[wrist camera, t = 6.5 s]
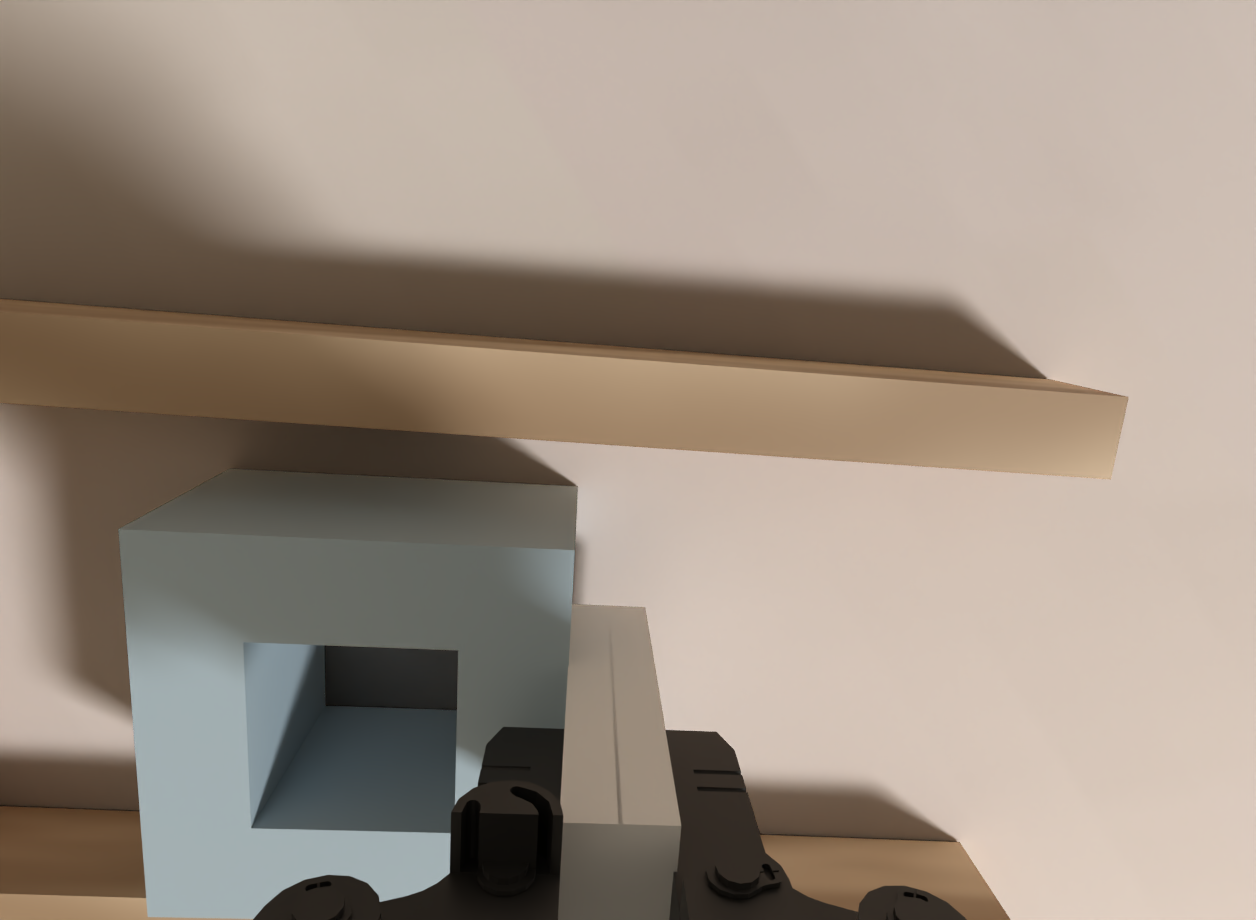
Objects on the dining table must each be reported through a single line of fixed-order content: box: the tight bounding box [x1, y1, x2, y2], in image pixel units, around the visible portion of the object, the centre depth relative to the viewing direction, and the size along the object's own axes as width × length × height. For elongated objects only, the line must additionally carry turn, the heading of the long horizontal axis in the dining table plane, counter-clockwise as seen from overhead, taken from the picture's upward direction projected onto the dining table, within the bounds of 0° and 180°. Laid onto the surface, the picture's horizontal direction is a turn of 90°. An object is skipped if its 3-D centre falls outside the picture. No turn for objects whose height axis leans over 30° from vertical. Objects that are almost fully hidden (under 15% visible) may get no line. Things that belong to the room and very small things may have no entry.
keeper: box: [118, 469, 578, 919], centre depth 15 cm, size 7×7×4 cm
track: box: [0, 299, 1128, 920], centre depth 16 cm, size 12×24×3 cm, turn 85°
